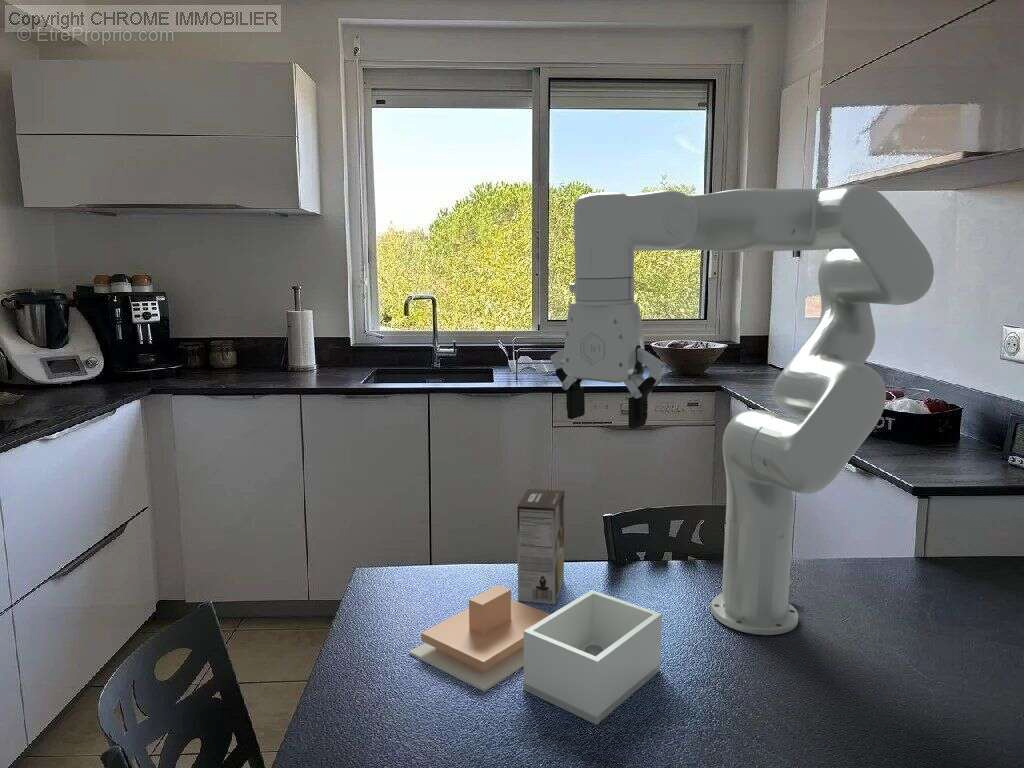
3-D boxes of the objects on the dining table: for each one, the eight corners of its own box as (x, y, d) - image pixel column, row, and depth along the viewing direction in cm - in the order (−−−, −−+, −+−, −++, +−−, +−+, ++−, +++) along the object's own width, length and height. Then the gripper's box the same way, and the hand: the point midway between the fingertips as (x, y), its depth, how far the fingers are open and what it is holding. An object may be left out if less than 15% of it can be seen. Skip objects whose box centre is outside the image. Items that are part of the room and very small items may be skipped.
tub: (590, 642, 104) (591, 589, 102) (660, 670, 97) (661, 613, 95) (523, 689, 92) (523, 631, 91) (596, 724, 85) (597, 661, 84)
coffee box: (527, 577, 125) (527, 487, 122) (564, 581, 124) (565, 489, 121) (516, 602, 116) (516, 505, 114) (556, 605, 115) (557, 507, 112)
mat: (495, 607, 115) (495, 604, 114) (568, 636, 106) (568, 633, 106) (409, 653, 101) (409, 651, 101) (484, 691, 92) (484, 689, 92)
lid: (496, 609, 113) (495, 565, 112) (556, 634, 105) (557, 587, 104) (421, 651, 101) (420, 602, 100) (483, 681, 94) (483, 629, 92)
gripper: (534, 293, 97) (537, 419, 100) (648, 295, 86) (648, 436, 89) (567, 289, 103) (570, 409, 106) (679, 291, 91) (678, 424, 95)
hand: (605, 421), depth 97 cm, fingers open, 9 cm apart
